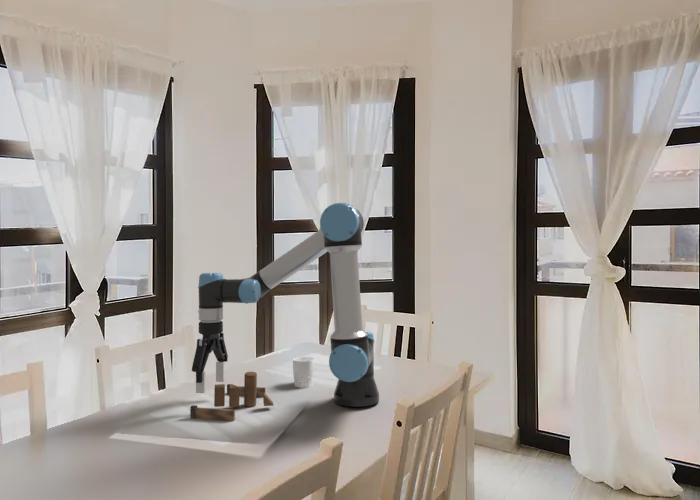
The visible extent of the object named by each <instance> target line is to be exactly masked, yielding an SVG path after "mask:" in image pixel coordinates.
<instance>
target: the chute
mask: <svg viewBox="0 0 700 500" xmlns="http://www.w3.org/2000/svg"><path fill="white" fill-rule="evenodd" d="M230 385H234V384H233V383H228V384H226V394H227V395H229V386H230ZM235 386H236V387H237V388H238V389H239V392H240V395H239V396H244V386H243V385H241V386H240V385H235ZM264 393H265V394H266V387H265V386H264V387H262V386H261V387H260V386H259V387H258V386H257V390H256V398H257V397H258V398H263V396H264ZM266 395H267V394H266ZM189 411H190V414H189V415H190V419H197V420H198V419H199V420H215V421H225V422H227V421H228V422H234V421H235V420H236V417H235V416H236V410H235V409H231V408H229V409H227V408H216V407H213V408H212V407H199V406H198V405H195V404H194V405H190V410H189Z"/></svg>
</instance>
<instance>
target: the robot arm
mask: <svg viewBox="0 0 700 500" xmlns="http://www.w3.org/2000/svg"><path fill="white" fill-rule="evenodd" d="M364 224H365V223H364V218H363V216H362V214H361V212H360V211H359V209H356V207H354V206H353V205H351V204H349V203H347V202H336V203H332V204H330V205H328V206H327V207H326V208H324V210H323V212H322V213H321V216H320V220H319V225H320V226H319V230H318V231H316V232H314V233H313V234H311V235H310V236H308V237H307V238H305V239H304V240H303V241H301V242H299V243H298V244H297V245H294V247H293V248H291V249H290V250H288V251H286V252H285V253H284V254H282V255H280V256H279V257H278V258H276V259H275V260H273V261H272V262H270V263H269V264H267V265H266V266H265V267H263V268H262V269H260V270H259V271H257V272H256V273H254V274H253V275H252V276H250V277H245V278H240V279H239V278H238V279H237V278H235V279H232V278H231V279H230V278H229V279H226V278H224V273H221V272H203V273H201V274H200V275H199V276H198V277H199V278H198V287H197V288H198V311H197V313H198V321H199V322H198V334H200V335H202V338H198V339H196V348H195V352H194V356H193V361H192V366H191V371H192V372H193V373H195V393H197V394H205V393H206V371H205V368H206V366H207V362H208V359H209V357H210V354H211V353H212V352H213V354H214V357H215V359H216V360H217V361H216V362H215V382H216V383H217V382H218V383H224V382H225V363H226V362H228V361H229V359H228V357H229V355H228V352H227V348H226V344H225V338H224V337H225V336H224V332H223V331H224V322H223V321H222V320H224V305H223V304H224V303H225V304H226V303H233V304H235V303H236V304H246V305H247V304H256V303H258V302H259V300H260V299H261V298H263V297H264V296H265V295H266V294H267V293H268V292H270V291H271V290H273V288H276V287H278V285H280V284H281V283H283V282H284V281H286V280H287V279H289V278H290V277H292V276H293V275H295V274H296V273H297V272H299V271H302V269H304V268H305V267H307V266H308V265H310V264H311V263H313V262H314V261H316V260H317V259H319V258H320V257H321V256H323V255H325V254H326V253H327V252H328V253H329V260H330V262H329V263H330V264H329V265H330V276H331V277H330V278H331V293H332V295H331V296H332V306H333V310H332V311H333V322H334V331H333V332H332V334H331V335H330V337H329V338H330V354H329V357H328V358H329V360H328V365H329V369H330V372H331V373H332V374H333V376H334V377H336V378H337V382H336V386H335V390H334V392H333V401H334V403H336V404H337V405H341V406H345V407H354V408H355V407H356V408H358V407H368V406H373V405H375V404H377V403H379V402H380V393H379V390H378V386H377V384H376V380H375V375H374V374H375V371H374V370H375V367H374V363H375V362H374V361H375V360H374V359H375V354H374V352H375V351H374V347H375V345H374V344H375V339H374V333H372V332H370V331H365V330H364V329H363V319H362V317H363V316H362V315H363V314H362V302H361V288H360V287H361V286H360V270H359V256H358V255H359V254H358V251H359V250H360V249H361V248H362V246H363V242H362V232H363V229H364Z"/></svg>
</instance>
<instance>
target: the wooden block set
mask: <svg viewBox="0 0 700 500" xmlns="http://www.w3.org/2000/svg"><path fill="white" fill-rule="evenodd" d="M257 380H258V373H257V372H255V371H247V372H245V373H244V380H243V381H244V395H243V398H244V399H243V405H244V407H248V408H252V407H255V406H256V405H257V397H256V390H257V387H258V386H257V384H258V382H257ZM236 386H237V385H235V384H233V385H230V386H229V394H228V396H229V397H228V407H230V408H232V407H233V408H237V407H238V408H239V407H240V396H241V395H240V392H239V389H238V388H237V387H236ZM225 388H226V384H224V383H223V384H222V383H221V384H219V383H218V384H214V390H213V391H214V394H213V396H214V397H213V399H214V400H213V402H214V404H213V406H214V408H217V407H225V405H226V404H225V402H226V399H225V398H226V397H225V395H226V389H225ZM262 398H263V407H270V406H271V407H274V401H273V400H272V399H271V398H270V397H269V396H268V395H267V394H265V393H264V396H263V397H262Z"/></svg>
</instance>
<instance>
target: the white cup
mask: <svg viewBox="0 0 700 500" xmlns="http://www.w3.org/2000/svg"><path fill="white" fill-rule="evenodd" d="M314 372H315V358H314V357H310V356H299V357H294V358H292V373H293V374H292V375H293V385H294V387H296V388H300V389H307V388H311V387H313V386H314V374H315V373H314Z"/></svg>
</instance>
